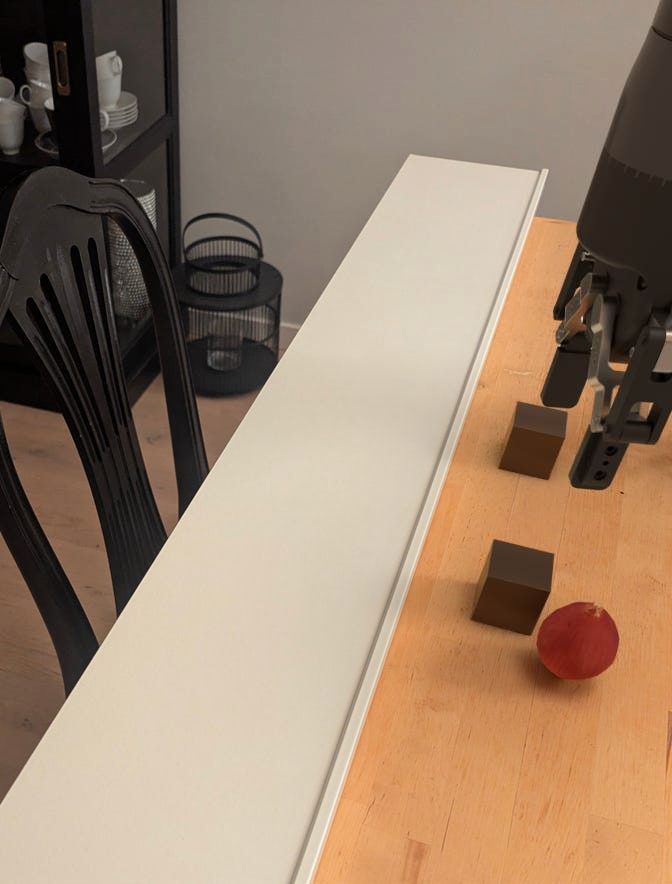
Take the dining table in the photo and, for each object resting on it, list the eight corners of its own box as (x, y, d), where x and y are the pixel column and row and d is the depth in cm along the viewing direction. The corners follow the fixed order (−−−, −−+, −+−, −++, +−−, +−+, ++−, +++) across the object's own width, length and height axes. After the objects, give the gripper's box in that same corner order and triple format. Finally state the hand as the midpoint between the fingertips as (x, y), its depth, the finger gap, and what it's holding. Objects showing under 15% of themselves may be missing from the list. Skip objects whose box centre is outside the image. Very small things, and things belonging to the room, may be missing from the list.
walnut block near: (477, 582, 80) (493, 538, 76) (535, 597, 79) (554, 553, 75) (470, 619, 77) (487, 575, 73) (531, 635, 76) (551, 591, 72)
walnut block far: (502, 442, 96) (517, 400, 92) (551, 453, 95) (568, 411, 91) (498, 468, 92) (513, 425, 89) (548, 479, 91) (565, 437, 88)
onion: (518, 644, 75) (550, 571, 69) (589, 651, 75) (627, 578, 69) (530, 698, 71) (565, 625, 65) (605, 705, 71) (647, 633, 65)
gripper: (832, 216, 38) (667, 523, 49) (721, 108, 48) (605, 385, 59) (649, 202, 38) (528, 511, 50) (576, 97, 48) (490, 376, 59)
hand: (570, 442), depth 54 cm, fingers open, 8 cm apart
